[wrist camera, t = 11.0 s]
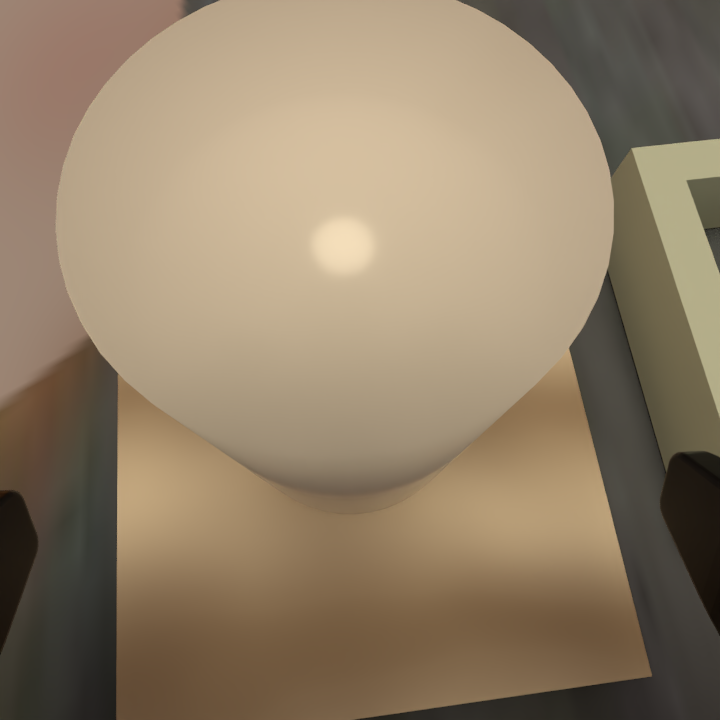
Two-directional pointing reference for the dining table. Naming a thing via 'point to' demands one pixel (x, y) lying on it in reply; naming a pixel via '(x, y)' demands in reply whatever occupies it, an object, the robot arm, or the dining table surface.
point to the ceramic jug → (335, 234)
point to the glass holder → (671, 287)
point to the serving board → (368, 577)
